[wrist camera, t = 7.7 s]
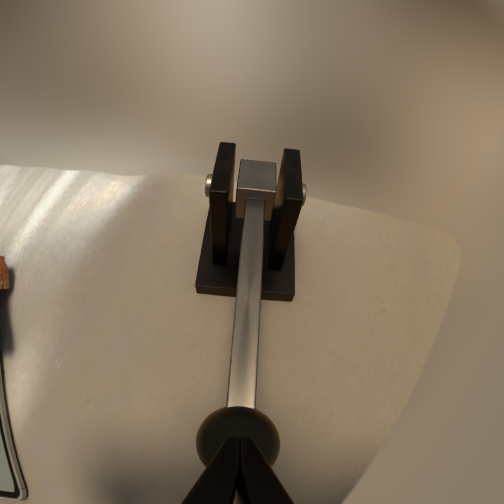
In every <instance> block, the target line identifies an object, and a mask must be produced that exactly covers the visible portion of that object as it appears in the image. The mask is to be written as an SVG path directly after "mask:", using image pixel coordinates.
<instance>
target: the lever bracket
mask: <svg viewBox="0 0 504 504" xmlns="http://www.w3.org/2000/svg"><path fill="white" fill-rule="evenodd" d="M235 147H236V144H235V143H227V142H220V144H219V148H218V153H217V157H216V162H215V166H214V170H213V174H208V175H207V178H206V185H205V195H206V196H207V197H209V204H210V206H209V211H208V216H207V221H206V227H205V232H204V238H203V243H202V249H201V254H200V260H199V266H198V272H197V278H196V284H195V287H196V292H197V293H205V294H214V295H224V296H235V297H236V292H237V282H238V271H239V261H240V250H241V240H242V230H243V220H244V218H236V217H235V206H236V202H233V187H234V167H235V149H236V148H235ZM305 199H306V185H305V184H303V183H302V173H301V160H300V151H299V150H295V149H287V148H286V149H284V153H283V158H282V163H281V168H280V173H279V178H278V183H277V188H276V196H275V202H274V207H273V212H272V218H271V221H267V220H264V239H263V263H262V286H261V299H269V300H281V301H292V299H293V297H294V295H295V259H294V230H295V226H296V223H297V220H298V217H299V214H300V210H301V207H302V206H303V205H304V203H305Z"/></svg>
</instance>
